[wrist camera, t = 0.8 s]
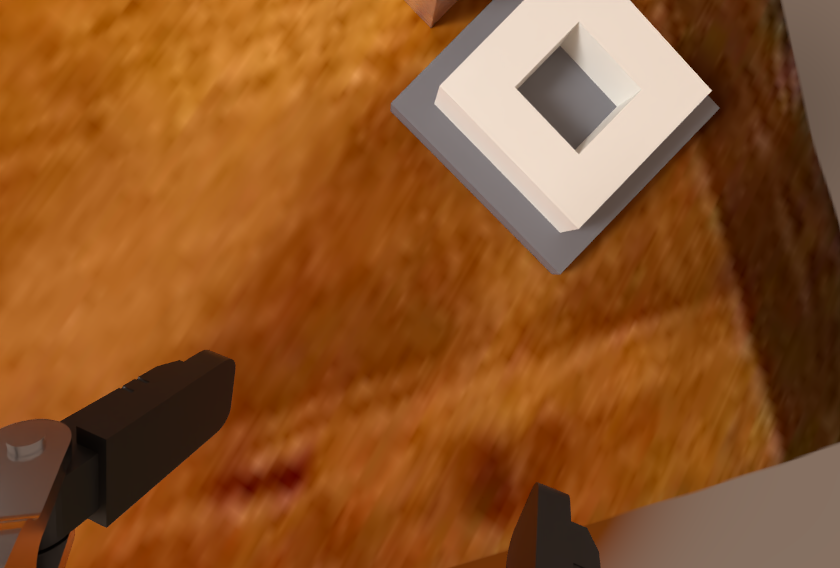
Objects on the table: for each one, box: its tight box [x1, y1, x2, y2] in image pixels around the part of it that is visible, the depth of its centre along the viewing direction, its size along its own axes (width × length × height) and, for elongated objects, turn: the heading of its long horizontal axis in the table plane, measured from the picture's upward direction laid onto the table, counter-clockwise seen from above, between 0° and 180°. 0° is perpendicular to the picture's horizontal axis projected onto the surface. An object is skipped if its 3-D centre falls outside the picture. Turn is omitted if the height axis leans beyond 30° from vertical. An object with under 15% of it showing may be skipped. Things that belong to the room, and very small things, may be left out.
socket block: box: [391, 0, 719, 274], centre depth 30 cm, size 16×16×4 cm
